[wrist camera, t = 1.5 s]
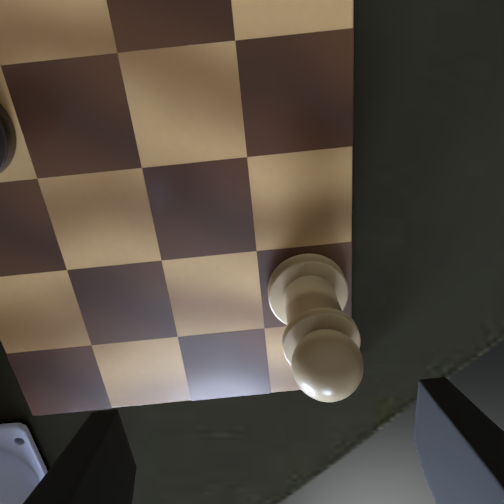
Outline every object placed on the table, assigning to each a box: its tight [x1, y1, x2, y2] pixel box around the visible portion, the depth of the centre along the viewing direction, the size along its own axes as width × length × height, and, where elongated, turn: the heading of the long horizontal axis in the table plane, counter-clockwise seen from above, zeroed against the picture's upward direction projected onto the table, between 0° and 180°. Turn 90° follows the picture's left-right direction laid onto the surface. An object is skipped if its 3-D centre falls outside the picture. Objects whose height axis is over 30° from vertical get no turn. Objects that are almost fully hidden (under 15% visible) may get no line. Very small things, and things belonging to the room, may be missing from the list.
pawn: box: [268, 253, 364, 402], centre depth 17 cm, size 3×3×6 cm
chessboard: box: [0, 0, 354, 416], centre depth 18 cm, size 20×16×1 cm
